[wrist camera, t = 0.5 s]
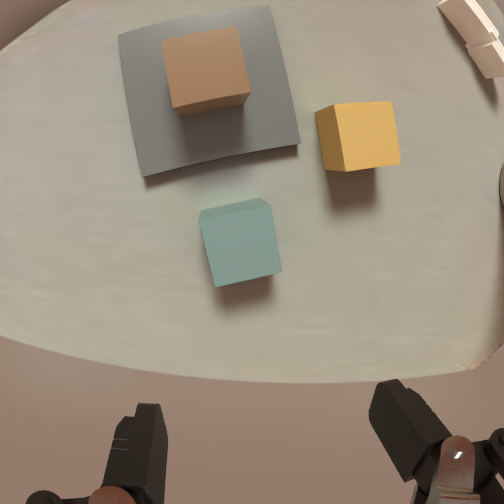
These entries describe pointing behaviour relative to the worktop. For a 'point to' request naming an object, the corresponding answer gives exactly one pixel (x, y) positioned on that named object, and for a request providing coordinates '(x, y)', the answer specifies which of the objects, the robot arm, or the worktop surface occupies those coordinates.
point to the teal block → (240, 241)
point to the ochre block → (358, 136)
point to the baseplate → (211, 126)
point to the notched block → (476, 35)
